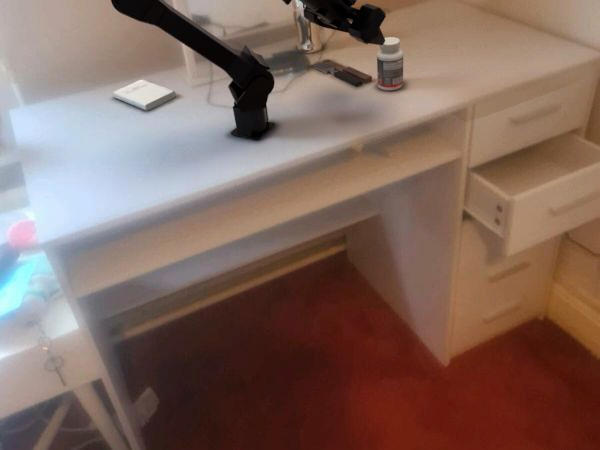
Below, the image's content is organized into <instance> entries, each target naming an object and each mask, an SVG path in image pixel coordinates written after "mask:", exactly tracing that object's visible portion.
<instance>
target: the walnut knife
mask: <svg viewBox="0 0 600 450" xmlns="http://www.w3.org/2000/svg"><path fill="white" fill-rule="evenodd" d="M321 63H323V64H326V65H328V66H330V67H333V68H335V70H334V71H336V72H337V71H339V70H340V71H342V72H344V73H346V74H348V75H351V76H353V77H355V78H357V79H359V80H361V81H362V83H364V84H368V83H370V82H372V81H373V78H372V76H371V75H369V74H366V73H365V72H363V71H360V70H358V69H356V68H354V67H351V66H349V65H348V66H344V65H342V64H340V63H337V62H336V61H334V60H332V59H323V60H322V61H321Z"/></svg>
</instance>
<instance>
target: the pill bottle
mask: <svg viewBox="0 0 600 450" xmlns="http://www.w3.org/2000/svg"><path fill="white" fill-rule="evenodd" d="M384 38H385V42H384V44H383V45H379V48H380V50H378V51H377V54H376V66H377V67H376V75H377V77H376V79H377V87H378V88H379V89H381V90H383V91H387V92H389V91H395V90H399V89H401V88H402V87H403V86H404V51H403V50H402V49H401V41H400V38H398V37H394V36H388V37H384Z"/></svg>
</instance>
